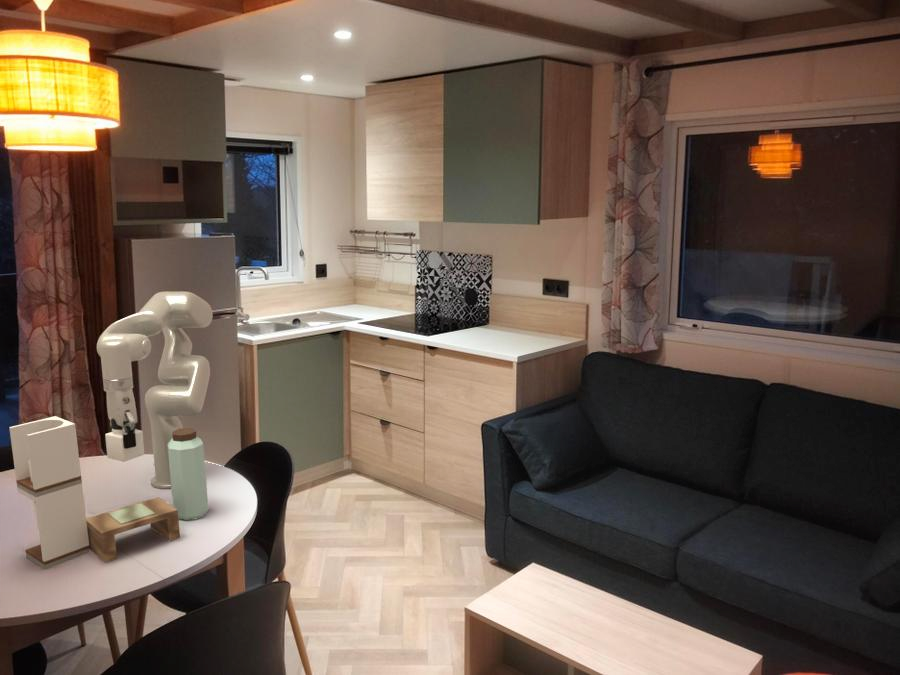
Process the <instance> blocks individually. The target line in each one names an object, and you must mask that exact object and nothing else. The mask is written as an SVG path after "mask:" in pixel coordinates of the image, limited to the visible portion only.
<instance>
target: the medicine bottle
mask: <svg viewBox="0 0 900 675" xmlns="http://www.w3.org/2000/svg"><path fill="white" fill-rule="evenodd" d="M125 423H129V422H125ZM111 425H112V431H113V432H111V431H110V432H108V433H105V437H104V438H105V446H106V456H107V459H111V460H115V461H120V462H123V463H124V462H127V461H130V460H132V459H133V460H134V459H136V458H138V457H141V456H144V455H146V454H145V444H144V433H143V430H139V429H137V428H135V437H136V447H132V448H127V449H125V448H124V443H123V435H124V432H123V429H122V426H119V425H117V423H116V421H115V419H113V418H111ZM127 427H128V426H126V430H127Z"/></svg>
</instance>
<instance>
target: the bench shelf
mask: <svg viewBox="0 0 900 675" xmlns="http://www.w3.org/2000/svg"><path fill="white" fill-rule="evenodd" d="M179 521H180V519H178V510H177V509H176V508H174V507H173V505H171V504H170V503H169V502H166V500H163V499H162V498H161V497H159V496H158V497H153V498H151V499H148V500H143V501H140V502H137V503H134V504H129V505H126V506H124V507H119V508H116V509H114V510H110V511H107V512H103V513H100V514H96V515H93V516H90V517H86V523H87V531H88V540H89V549H90V552H93V553H94V555H95V556H97V557H98V558H99V559H100V560H101V561H102V562H104V563H107V562H110V561H113V560H117V558H118V557H117V548H116V547H117V546H116V540H115V539H116V538H115V535H119V534H123V533H125V532H127V531H131V530H135V529H138V528H140V527H144V526H147V525H150V528H151V529H152V530H154V531H155V532H156V533H158V534H160V535H161V536H162V538H165V539H166V540H167V541H169V542H171V541H173V540H177V539H179V538H181V533H180V532H181V531H180V522H179Z"/></svg>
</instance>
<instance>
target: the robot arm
mask: <svg viewBox="0 0 900 675" xmlns="http://www.w3.org/2000/svg"><path fill="white" fill-rule="evenodd" d="M212 321H213V309H212V307H211V306H210V304H209V303H208V302H207V301H206V300H204V299H203V298H201V297H200V296H199V295H197V294H195V293H193V292H191V291H182V290H181V291H167V290H166V291H160V292H157V293H155V294H154V295H152V296H151V298H150V299H149V300H148V301H147V302H146V303H145V305H144V306H143V307H141V309H140V310H139V311H138V312H136V313H133V314H130V315H127V316H126V317H124V318H121V319H119V320H117V321H114V322H113V323H111V324H110V325H109V326H108V327H107V328H106V329H105V330H104V331H103V332H102V333H101V334H100V335H99V337H98V339H97V343H96V352H97V354H98V356H99V357H100V362H101V372H102V383H103V385H102V386H103V391H104V392H106V408H107V409H106V411H107V416H108V419H109V421H110V422H109V427H110V428H109V429H110V432H113V431H112V425H111V418H113V419H115V421H116V423H117V425H119V426H122V429H123V432H124V435H123V443H124V448H125V449H127V448H132V447H136V437H135V429H136V424H137V423H138V414H137V408H136V407H137V406H136V401H135V397H134V391H133V388H134V380H133V369H132V362H136V361H141V360H144V359H145V358H147V357H148V356H149V355H150V353H151V351H152V342H151V340H150V339H149V338H150V337H153V336H156V335H158V334H160V333H161V332H162V333H163V337H164V345H163V346H164V347H163V351H162V354H161V358H160V362H159V366H158V370H157V378H158V380H159V382H161V383H162V384H160V385H154V386H152V387H150V388H149V389H148V390H146V392H145V394H144V395H145V396H144V405H145V408H146V412H147V415H148V419H149V424H150V432H151V444H152V453H153V461H154V462H153V464H154V473H155V474H154V476H153V477H152V478H151V479H150V485H151V486H152V487H153V488H156V489H164V490H165V489H171V478H170V467H169V456H168V443H169V442H170V441H171V439H172V432H173V431H175V430H177V429H182V428H184V427H183V423H182V422H181V420H180V419H179V417H193V416H197V415H199V414H200V413H201V411H202V409H203V407H204V404H205V399H206V394H207V390H208V387H209V386H208V385H209V381H210V377H211V367H210V362H209V360H208V359H207V358H206V357H205V356H203V355H198V354H197V355H196V354H192V350H193V342H192V341H191V339H190V337H189V336H188V335H187V333H186V332H185V331H184V328H185V329H187V328H188V329H198V328H199V329H200V328H201V329H202V328H206V327H209V326H210V325H211V323H212ZM125 422H129V423H125ZM126 426H128V427H127V430H126Z"/></svg>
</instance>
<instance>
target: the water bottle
mask: <svg viewBox="0 0 900 675" xmlns="http://www.w3.org/2000/svg"><path fill="white" fill-rule="evenodd" d="M204 451H205V450H204V443H203V440H202V439H201V438H200V437H198V436H197V430H196V429H195V428H193V427H183V428H182V429H177V430H175V431H173V432H172V439H171V441H170V442H169V443H168V456H169V467H170V478H171V488H170V489H171V497H172V506H173V507H174V508H176V509H177V510H178V519H179V520H182V519H184V521H191V520H190V519H192V520H196V519H195V518H198V519H200V518H201V516H202V515H203V516H205V515H206V514H207V513H208V511H209V499H208V488H207V485H208V484H207V476H206V461H205V460H206V459H205V452H204ZM205 513H206V514H205ZM204 514H205V515H204ZM203 516H202V517H203ZM199 517H200V518H199Z"/></svg>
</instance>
